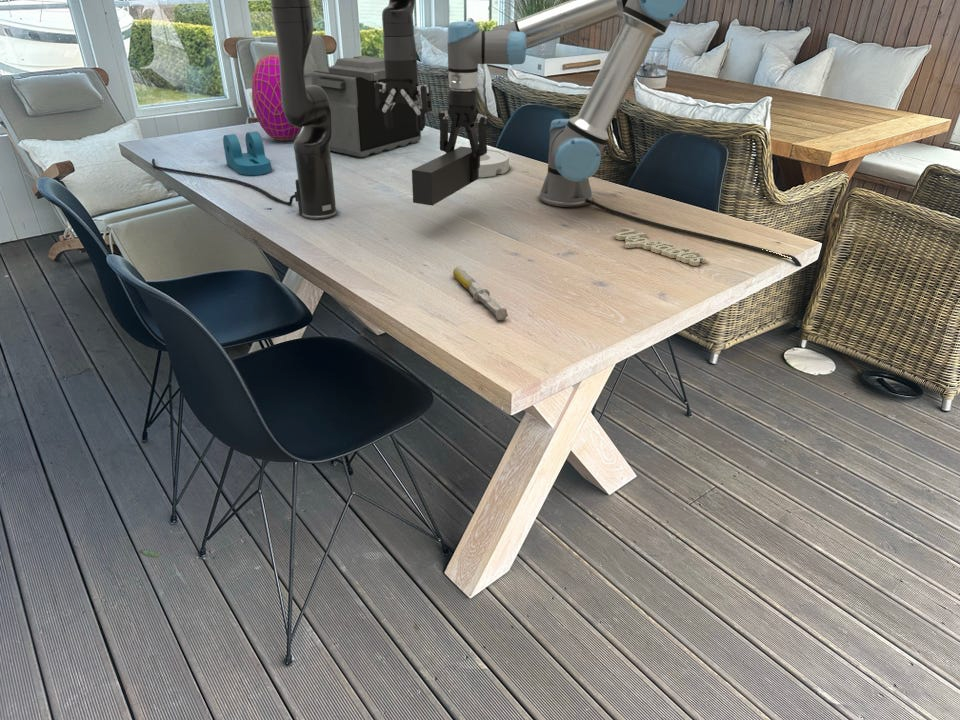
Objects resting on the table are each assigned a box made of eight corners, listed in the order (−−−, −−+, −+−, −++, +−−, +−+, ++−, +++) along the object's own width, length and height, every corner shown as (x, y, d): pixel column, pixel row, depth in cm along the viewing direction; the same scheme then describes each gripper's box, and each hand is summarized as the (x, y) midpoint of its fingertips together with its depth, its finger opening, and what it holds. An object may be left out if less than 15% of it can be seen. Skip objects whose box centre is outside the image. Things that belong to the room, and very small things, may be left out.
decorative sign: (601, 235, 175) (625, 226, 181) (600, 238, 175) (625, 230, 181) (689, 266, 158) (713, 255, 164) (689, 269, 158) (713, 259, 164)
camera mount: (227, 164, 233) (221, 132, 227) (257, 160, 238) (252, 129, 233) (244, 176, 220) (239, 143, 215) (276, 172, 225) (271, 139, 220)
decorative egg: (293, 132, 276) (283, 50, 261) (319, 140, 264) (310, 56, 249) (249, 139, 265) (236, 54, 250) (273, 148, 253) (261, 60, 238)
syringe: (449, 274, 155) (449, 263, 153) (465, 272, 156) (464, 260, 154) (490, 323, 135) (491, 310, 133) (508, 319, 136) (508, 307, 134)
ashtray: (443, 158, 243) (443, 147, 241) (508, 159, 242) (508, 148, 240) (437, 176, 223) (437, 164, 221) (508, 178, 222) (509, 165, 220)
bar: (460, 176, 192) (460, 146, 187) (478, 178, 190) (478, 148, 185) (413, 202, 171) (411, 169, 166) (432, 205, 169) (431, 172, 164)
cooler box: (383, 133, 276) (378, 52, 261) (425, 141, 265) (422, 56, 250) (314, 150, 251) (304, 61, 235) (358, 160, 240) (350, 67, 224)
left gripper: (365, 57, 158) (371, 130, 166) (418, 59, 153) (422, 134, 161) (382, 54, 164) (388, 124, 172) (434, 56, 159) (438, 128, 167)
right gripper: (424, 88, 176) (426, 178, 188) (489, 94, 169) (488, 187, 181) (437, 84, 182) (439, 171, 193) (502, 89, 175) (499, 180, 187)
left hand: (404, 129), depth 167 cm, fingers open, 8 cm apart
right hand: (463, 179), depth 187 cm, fingers closed on bar, 5 cm apart
